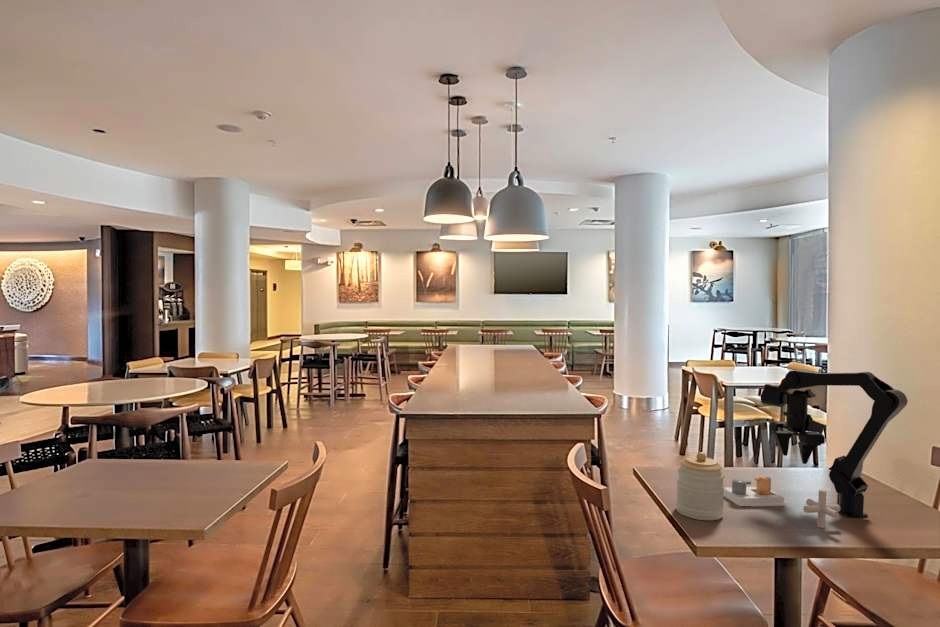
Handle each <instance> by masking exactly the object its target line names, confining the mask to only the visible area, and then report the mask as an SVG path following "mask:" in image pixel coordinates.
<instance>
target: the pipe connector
mask: <svg viewBox="0 0 940 627" xmlns="http://www.w3.org/2000/svg"><path fill="white" fill-rule="evenodd" d="M827 492H828V491H827V490H825V489H818V502H817V501H815V500H813V499H811V498H808V499H806V500H805V501H806V502H805V504H806V505H804V506H803V508H802V510H803V512H804V513H806V514H813V513H817V524H816V525H817V526H816V527H818V528H821V529H825V528H826V515H827V516H829V517H831V518H834V519H838V518H839V517H840V513H839V511H840V506H839V505H837V504H827Z"/></svg>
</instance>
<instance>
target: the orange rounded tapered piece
mask: <svg viewBox="0 0 940 627" xmlns="http://www.w3.org/2000/svg"><path fill="white" fill-rule="evenodd" d="M754 481H755V482H756V484H755V487H756V493H757V494H759V495H770V494H771V491H772V489H771V488H772V478H771V477H769V476H766V475H757V476H755V477H754Z"/></svg>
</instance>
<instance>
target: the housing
mask: <svg viewBox="0 0 940 627" xmlns="http://www.w3.org/2000/svg"><path fill="white" fill-rule="evenodd" d="M747 485H752V481H751V480H743V479H739V478H737V479H735V478H734V479H732V480H731V487H728V486H727V487H725V489H724V498H725V499H727V500H728V501H730V502H732V503H734V504H735V505H737V506H738V505H739V506H738V507H740V506H751V507H783V506H784V505H785V497H784V496H782V495H780V494H778V493H777V492H775V491H773V490H771V494H770V495H759V494H757V493H756V486H747Z"/></svg>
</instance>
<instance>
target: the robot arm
mask: <svg viewBox="0 0 940 627" xmlns="http://www.w3.org/2000/svg"><path fill="white" fill-rule="evenodd" d="M815 386H817V387H818V386H838V387H839V386H859V387H860V388H862V390H863V392H864V393H865V394H866V395H867V396H868V397H869V398H870V399H872V400H873V404H872V406H871V414H870V417H869V419H868V420H867V422H866V424H865V425H864V427H863V428H862V430H861V431H860V433H859V434H858V436H857V438H856V440H855V441H854V443H853V445H852V446H851V448H850V449H849V451H848V453H847V454H846V455H842V456H838V457H836V458H834V461H833V463H832V465H831V466H830V467H829V468H828V470H829V474H828V477H829V480H830V481H831V483H832V484H833V487H834V490H835V492H836V493H837V496H836V497H837V498H836V499H837V500H836V505H839V506H840V511H839V512H838V513H839V514H842V515H844V516H845V517H847V518H860V517H861V518H863V517H865V518H866V517H867V518H868V517H869V514H868V513H866V512H864V504H865V495H864V494H863V493H865V492H867V490H868V487H869V485H868V484H867V483H866V482H865V480H864V479H863V478H862V477H861V475H862V472H863V465H864V461H865V460H866V459H867V457H868V455H869V453H870V452H871V450H872V449H873V447H874V445H875V444H876V443H877V440H878V439H879V438H880V436H881V435H882V433H883V431H884V429H885V428H886V426H887V425H888V424H889V423H890V421H892V420H893V419H894V418H895V417H896V416H898V415H899V414H900V413H901V411H902V410H904V408H906V406H907V404H908V397H907V396H906V394H905V393H904V392H902V390H900V389H899V390H898V389H895V388H893V387H892V385H890V384H888V383H887V382H885V381H883V380H882V379H880V378H878V377H877V376H875V374H873V373H872V372H870V371H863V372H861V371H860V372H818V371H814V370H808V369H796V370H795V369H794V370H790V371H788V372H787V373H786V374H785V376H784V380H783V381H782V382H781V383H780V385H774V384H771V383H766V384H764V388H763V389H762V392H761V393H760V402H761V404H762V405H764V406H772V407H775V408H784V407H785V405H786V411H783V412H782V415H783V416H786V417H785V418H786V419H785V421H783V420H781V421H779V420H778V421H774V420H773V421H771V422H770V423H769V431H771V434H773V437H774V438H775V440H776V441H777V444H778V446H779V449H780V451H781V453H782V455H783V456H786V457H787V456H788V453H789V448H790V447H789V446H790V439H791V437H793V436H797V438H798V440H799V441H797V444H798V449H799V454H800V459H801V462H802V464H804V465H807V464H808V462H809V459H810V458H811V455H812V453H813V451H814V449H816V448H817V447H819V446H822V445H825V444H826V437H825V435H824V434H823V432H824V430H825V427H826V425H825V424H824V423H821V422H819V421H816V420H813V419H814V418H813V417H812V415H811V414H809V413H808V405H809V399H812V398H816V394H815V393H814V392H812V390H811V387H815ZM804 388H805V390H799V389H804ZM806 388H809V389H806ZM791 390H794V391H791Z"/></svg>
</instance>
